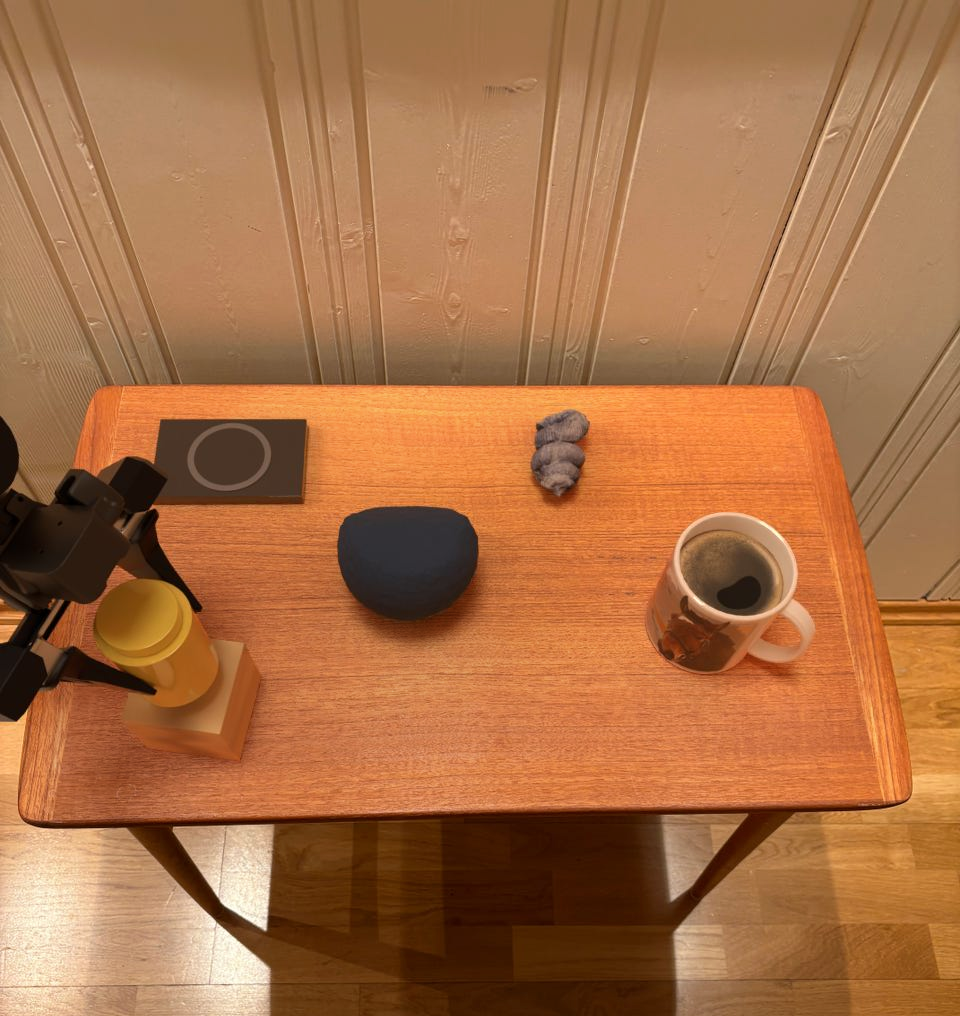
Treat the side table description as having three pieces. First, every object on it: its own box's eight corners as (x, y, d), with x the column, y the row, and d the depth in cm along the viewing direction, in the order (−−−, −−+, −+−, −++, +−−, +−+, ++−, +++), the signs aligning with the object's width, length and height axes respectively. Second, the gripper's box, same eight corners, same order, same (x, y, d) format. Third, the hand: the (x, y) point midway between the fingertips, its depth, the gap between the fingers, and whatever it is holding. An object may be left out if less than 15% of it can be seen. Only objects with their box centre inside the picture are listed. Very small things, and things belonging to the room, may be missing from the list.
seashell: (551, 431, 88) (551, 517, 84) (522, 403, 84) (521, 491, 80) (597, 413, 85) (600, 501, 81) (570, 383, 81) (571, 473, 77)
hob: (152, 504, 81) (148, 496, 80) (163, 426, 85) (159, 417, 84) (303, 503, 82) (301, 495, 81) (308, 426, 86) (306, 417, 84)
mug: (731, 563, 81) (772, 496, 71) (790, 677, 76) (842, 622, 66) (627, 592, 79) (655, 528, 69) (681, 711, 75) (718, 660, 65)
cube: (148, 748, 71) (119, 720, 65) (174, 664, 75) (149, 629, 68) (239, 761, 71) (219, 734, 65) (261, 676, 74) (244, 642, 68)
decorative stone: (488, 630, 77) (494, 576, 68) (355, 654, 76) (343, 602, 67) (462, 520, 82) (465, 455, 73) (336, 539, 80) (322, 476, 71)
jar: (119, 701, 63) (72, 651, 55) (144, 622, 66) (103, 564, 58) (206, 713, 63) (172, 665, 55) (228, 633, 66) (198, 577, 58)
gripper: (-107, 643, 42) (163, 779, 51) (89, 365, 50) (295, 526, 59) (-149, 655, 50) (92, 771, 59) (26, 413, 58) (216, 549, 67)
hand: (176, 651), depth 61 cm, fingers closed on jar, 6 cm apart
